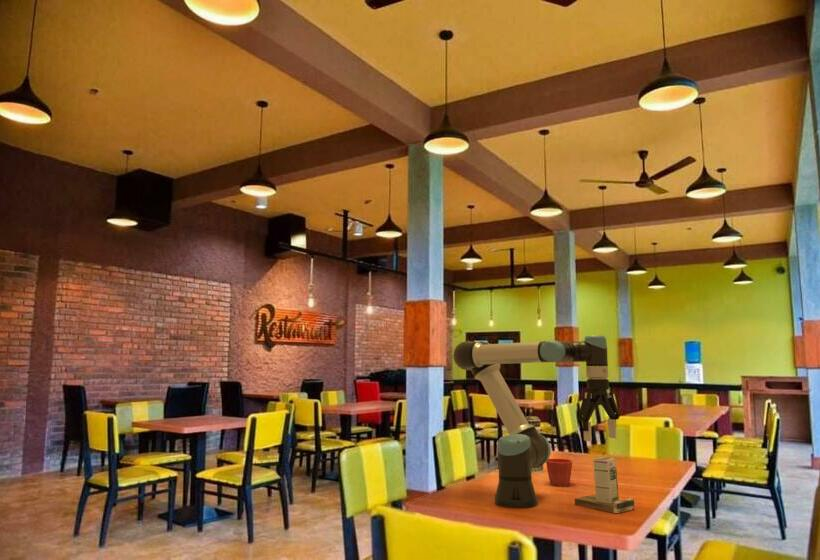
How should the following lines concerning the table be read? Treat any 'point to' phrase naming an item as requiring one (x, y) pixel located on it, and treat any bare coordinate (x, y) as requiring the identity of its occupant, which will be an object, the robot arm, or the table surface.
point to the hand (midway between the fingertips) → (600, 439)
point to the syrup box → (606, 480)
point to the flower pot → (559, 471)
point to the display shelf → (605, 504)
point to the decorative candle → (536, 422)
